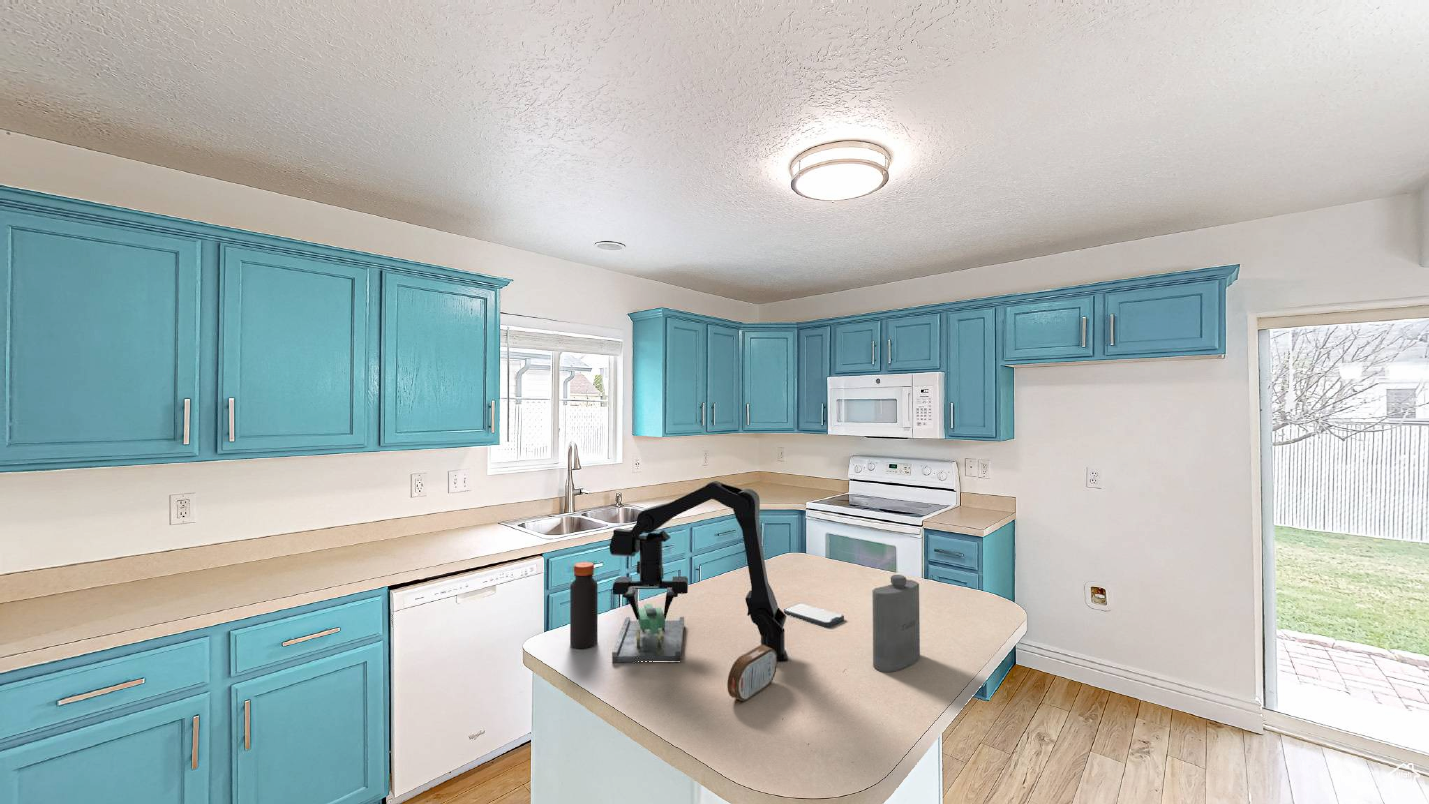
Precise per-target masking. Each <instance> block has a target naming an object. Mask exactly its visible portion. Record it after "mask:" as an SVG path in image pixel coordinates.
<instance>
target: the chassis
mask: <svg viewBox="0 0 1429 804" xmlns="http://www.w3.org/2000/svg"><path fill="white" fill-rule="evenodd" d="M621 626H622V627H621V629H620V631H619V633H618V635H617V639H616V641H615V644H614V646H613V649H612V651H611V652H612V653H611V654H612V655H611V660H612V661H611V663H612V664H616V663H615V662H638V661H639V662H641V661H643V662H645V661H647V662H649V661H652V662H653V661H681V662H682V654H681V653H682V652H683V643H682V642H684V633H683V632H684V631H685V616H679V620H665V628H658V634H651V633H650V630H649V629H646V630H641V629H640V625H639V621H638V620H631V617H630V616H628V617H627V616H626V617H625V618H624V621H623V624H622V625H621ZM613 662H614V663H613Z"/></svg>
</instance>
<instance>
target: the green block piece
mask: <svg viewBox="0 0 1429 804" xmlns="http://www.w3.org/2000/svg"><path fill="white" fill-rule="evenodd" d="M638 609H639V619H638V620H637V621H639V625H640V629H641V630H646V629H649V630H650V633H651V634H658V628H665V621H666V619H665V616H664V610H663V608H662V606H659V607H654V606H653V603H645V604H644V608H638Z"/></svg>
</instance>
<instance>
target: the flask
mask: <svg viewBox="0 0 1429 804" xmlns="http://www.w3.org/2000/svg"><path fill="white" fill-rule="evenodd" d="M871 595H872V667H874V669H876V670H877V671H880V672H882V673H893V672H896V671H900V670H903V669H906V668H908V667H910V666H911V665H914V663H915V662H917V661H918V660H919V659H920V657H921V656H920V655H921V650H920V649H921V647H920V646H921V641H920V638H921V637H920V636H921V634H920V633H921V631H920V629H921V628H920V622H921V621H920V583H919V582H917V581H915V580H912V579H907V577H906V576H904V575H902V574H893V575H891V576H890V584H888V585H885V586H880V587H875V588H874V589H872V594H871Z"/></svg>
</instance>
